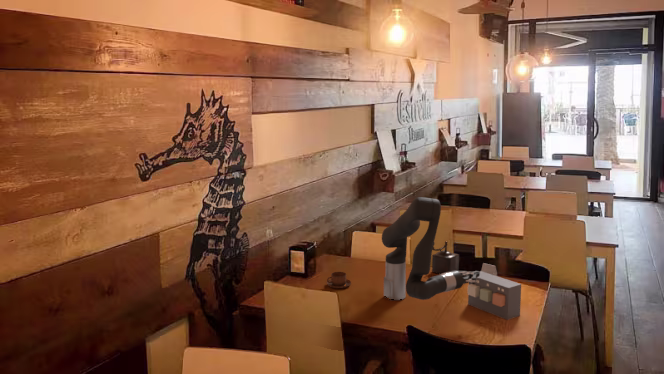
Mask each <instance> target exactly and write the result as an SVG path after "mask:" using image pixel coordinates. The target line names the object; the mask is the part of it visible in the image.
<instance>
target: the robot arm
mask: <svg viewBox="0 0 664 374" xmlns="http://www.w3.org/2000/svg"><path fill="white" fill-rule="evenodd" d="M441 206H442V205H441V202H440V200H439V199H436V198H432V197H422V196H420V197H419V196H418V197H415V198H414V199H413V200H412V202H411V203H410V204H409V206H408V208H406V210H405V211H404V212H403V213H402V214H401V215H400V216H398V218H397V219H396V220H395V221H394V222H393V223H392V224H390V225H389V226H387V227H386V228H384V230H383V231H382V234H381V242H382V245H384V247H386V248H389V249H391V248H395V249H394V250H393V251H391V252H389V253H387V254H386V255H385V276H384V277H383V297H384V296H386V297H387V298H389V299H394V300H393V301H401V300H400V299H402V300H404V299H405V298H406V294H407V295H408V297H411V298H414V299H417V300H421V301H424V300H430V299H432V298H434V296H436V295H438V294H439V295H440V294H441V293H448V292H450V291H455V290H458V289H461V288H462V287H463V285H465V284H469V282H471V283H472V284H475V283H476V277H479V276H480V271H479V270H475V271H467V270H459V271H456V270H454V271H450V272H446V273H442V274H437V275H434V276H431V277H429V278H427V280H425V281H422V280H423V276H427V275H429V274H430V271H431V264H432V255H433V250H432V248H433V244H434V242H435V239H436V235H437V231H438V227H439V223H440V217H441V212H442V207H441ZM421 221H422V222H428V226H427V230H426V232H425V234H424V235H423V237H422V238H421V239H420V241H419V242H418V243H417V245H416V247H415V248H414V251H413V253H412V255H413V256H412V261H411V262H412V263H411V264H412V265H411V269H410V272H409V274H408V278H406V268H407V267H406V266H407V264H406V263H407V260H406V259H407V248H408V247H407V245H408V237H411V236H412V235H414V234H416V232H417V231H418V230H419V228H420V227H421ZM434 245H435V244H434ZM406 279H407V280H406ZM386 297H385V298H386ZM387 298H386V299H387ZM389 299H388V300H389Z"/></svg>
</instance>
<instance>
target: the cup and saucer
mask: <svg viewBox="0 0 664 374" xmlns="http://www.w3.org/2000/svg"><path fill="white" fill-rule="evenodd" d="M345 284H346V286H344V285H345ZM351 284H352V281H351V280H349V279H347V273H346V272H344V271H334V272H331V275H330V276H328V277H327V279H326V285H327V286H328V287H330V288H334V289H343V288H348V287H349V286H350V285H351Z"/></svg>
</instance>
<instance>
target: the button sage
mask: <svg viewBox="0 0 664 374" xmlns="http://www.w3.org/2000/svg"><path fill="white" fill-rule="evenodd" d="M480 299H481V300H484V301H486V302H489V301H492V290H490V289H487V288H483V289H480Z"/></svg>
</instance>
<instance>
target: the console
mask: <svg viewBox="0 0 664 374" xmlns="http://www.w3.org/2000/svg"><path fill="white" fill-rule="evenodd" d="M479 272H480V276H479V277H476V283H475V284H476V285H478V286H480V289H483V288H487V289H490V290H492V301H493V294H494V293H497V292H498V293H501V294H504V295H506V298H505V306H502V307H500V306H497V305H494V304H492V301H489V302H486V301H484V300H481V299H480V296H478V297H473V296H470V295H468V294H467V295H468V296H467V300H468V301H467V304H468V305H469V306H471V307H473V308H476V309H478V310H481V311H483V312H486V313H489V314H491V315H494V316H497V317H499V318H502V319H504V320H506V321H509V320H512V319H513V318H517V317H520V316H521V304H522V303H521V301H522V299H521V298H522V283H518V282H517V281H513V280H510V279H507V278H503V277H501V276H498V275H497V276H495V275H491V274H488V273H485V272H482V271H481V270H480V271H479ZM469 284H472V283H471V282H468V285H469Z"/></svg>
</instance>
